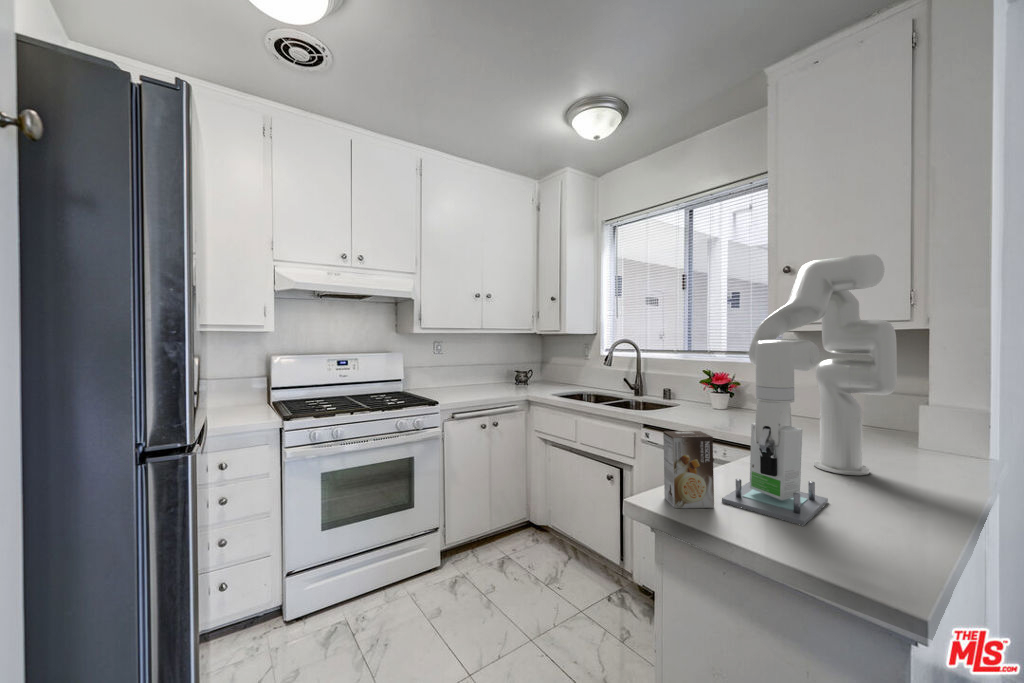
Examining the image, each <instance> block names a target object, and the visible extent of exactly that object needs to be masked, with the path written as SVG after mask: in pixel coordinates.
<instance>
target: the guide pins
mask: <svg viewBox="0 0 1024 683" xmlns="http://www.w3.org/2000/svg"><path fill="white" fill-rule="evenodd" d="M807 483H808V486H807V490H808V499H809V500H812V501H815V495H816V482H815V481H812V480H809V481H808V482H807ZM741 487H742V479H741V478H735V490H736V497H738V498H741ZM794 513H796V514H800V494H799V493H794Z"/></svg>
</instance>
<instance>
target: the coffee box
mask: <svg viewBox="0 0 1024 683" xmlns="http://www.w3.org/2000/svg"><path fill="white" fill-rule="evenodd" d="M662 434H663V436H662V438H663V482H664V483H663V484H664V487H663V488H664V492H663V494H664V497H663V498H664V499H665V500H666V501H667V502H668V503H669V504H670V505H671V506H672V507H673V509H701V508H702V509H703V508H706V509H708V508H709V509H711V508H715V486H714V484H715V481H714V480H715V479H714V476H715V475H714V443H713V442H714V439H713V436H712V435H709V434H708V433H705V432H703V431H701V430H689V431H688V430H685V431H684V430H681V431H679V430H678V431H677V430H675V431H671V430H670V431H669V430H668V431H667V430H666V431H663V433H662Z"/></svg>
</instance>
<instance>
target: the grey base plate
mask: <svg viewBox="0 0 1024 683" xmlns="http://www.w3.org/2000/svg"><path fill="white" fill-rule="evenodd" d="M749 485H750V481H748V482H746V483H745V484H743V485H741V498H738V497H736V489H735V490H733V491H732V492H730V493H728V494H727V495H725V496H723V497H722V498H721V503H722V502H723V504H725V503H727V505H729V504H730V505H729V506H732V505H733V507H736V506H738V507H737V508H739V507H742V508H741V509H743V508H745V509H744V510H746V509H748V510H747V511H750V510H752V511H751V512H753V511H755V512H754V513H757V512H758V513H757V514H760V513H762V514H761V515H764V514H765V515H764V516H767V515H769V516H768V517H771V516H773V517H772V518H774V517H776V518H775V519H777V518H779V519H778V520H781V519H783V520H782V521H784V520H786V521H785V522H788V521H790V522H789V523H791V522H793V523H792V524H795V523H797V524H796V525H798V524H800V526H802V525H803V526H802V527H805V526H806V525H807V524H808V523H809V522H810V521H811V520H812V519H813V518H814V517H815V516H816V515H817V514H818V513H819V512H820V511H821V510H822V509H823V508H824V507H825V506H826V505H827V504H828V503H827V502H829V498H828V497H825V496H821V495H816V494H815V501H812V500H809V499H808V493H806V492H804V491H803V492H802V491H800V514H796V513H794V498H790V499H787V500H783V501H782V500H779V499H777V498H774V497H772V496H769V495H767V494H764V493H761V492H759V491H756V490H754V489H751V488H750V487H749ZM826 503H827V504H826ZM825 504H826V505H825ZM824 505H825V506H824ZM823 506H824V507H823ZM822 507H823V508H822ZM821 508H822V509H821ZM820 509H821V510H820ZM819 510H820V511H819ZM818 511H819V512H818ZM817 512H818V513H817ZM816 513H817V514H816ZM815 514H816V515H815ZM814 515H815V516H814ZM813 516H814V517H813ZM812 517H813V518H812ZM811 518H812V519H811ZM810 519H811V520H810ZM809 520H810V521H809ZM808 521H809V522H808ZM807 522H808V523H807ZM806 523H807V524H806ZM805 524H806V525H805ZM804 525H805V526H804Z"/></svg>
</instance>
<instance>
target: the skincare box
mask: <svg viewBox="0 0 1024 683" xmlns="http://www.w3.org/2000/svg"><path fill="white" fill-rule="evenodd" d="M750 425H751V427H750V430H751V432H750V434H751V435H750V458H749V459H750V461H749V464H750V465H749V482H750V485H749V487H750V488H751V489H754V490H756V491H759V492H761V493H764V494H767V495H769V496H772V497H774V498H777V499H779V500H782V501H783V500H787V499H790V498H794V493H799V494H800V492H801V482H802V481H801V477H802V476H801V474H802V454H803V453H802V452H803V451H802V449H803V446H802V445H803V429H802V428H800V427H799V428H798V427H795V426H792V427H791V426H790V427H787V428H785V429H782V430H780V442H779V446H777V447H776V455H775V458H777V476H775V477H774V476H770V475H765V474H761V472H760V450H759V448H760V446H759V444H758V443H756V442H755V422H752V423H751V424H750ZM768 443H771V444H773V443H774V440H773V439H772V440H770V441H768ZM769 448H770V449H771V452H772V447H769Z"/></svg>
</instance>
